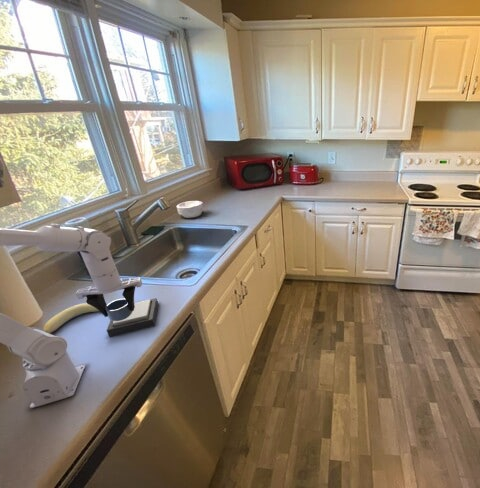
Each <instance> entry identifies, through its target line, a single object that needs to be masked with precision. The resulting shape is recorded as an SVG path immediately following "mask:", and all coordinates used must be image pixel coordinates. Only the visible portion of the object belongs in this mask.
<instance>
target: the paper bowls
mask: <svg viewBox="0 0 480 488" xmlns="http://www.w3.org/2000/svg"><path fill="white" fill-rule="evenodd" d="M204 206H205V205H204V202H203V201H201V200H188V201H183V202H181V203H180V202H179V203H178V204H177V205H176V210H177V213H178V214H179V215H181V216H182V217H183V218H186V219H193V218H198V217H200V216H201V215H202V212H204V210H205V207H204Z"/></svg>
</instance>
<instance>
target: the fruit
mask: <svg viewBox="0 0 480 488" xmlns="http://www.w3.org/2000/svg"><path fill="white" fill-rule="evenodd" d="M95 312H100V311H99V310H98V309H96V308H95V307H93V306H91V305H89V304H87V302H83V303H78V304H76V305H72V306H70V307H68V308H66V309H63V310H62V311H60V312H58V313H57V314H55V315H53V316H52V317H51V318H49V320H47V321H46V323H45V324H44V325H43V328H42V330H43V331H44V332H47V333H49V334H52V333H53V332H55V331H56V330H58V329H59V328H60V327H61V326H62V325H64V324H65V323H67V322H69V321H70V320H72V319H73V318H75V317H78V316H80V315H84V314H87V313H95Z"/></svg>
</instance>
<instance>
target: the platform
mask: <svg viewBox="0 0 480 488" xmlns="http://www.w3.org/2000/svg"><path fill="white" fill-rule="evenodd" d="M134 305H135V308H134V311H132V314H131V315H130V316H129V317H127V318H126V319H124V320H121V321H113V326H118V325H122V324H126V323H130V322H134V321H138V320H143V319H147V318H148V316H149V312H150V307H151V300H150V299H145V300H141V301H136V302H134Z"/></svg>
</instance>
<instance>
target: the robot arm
mask: <svg viewBox="0 0 480 488" xmlns="http://www.w3.org/2000/svg"><path fill="white" fill-rule="evenodd" d="M111 245H112V239H111V237H110V236H108V234H107V233H105V232H104V231H102V230H97V229H92V228H87V227H84V226H79V225H77V226H76V227H68V226H66V227H65V226H62V225H61V224H59V223H50V224H49V225H42V226H40V227H38V228H37V229H35V230H27V229H18V228H17V229H16V228H5V227H0V246H3V247H5V246H6V247H7V246H16V247H17V246H34V247H36V248H37V249H38V250H39V251H41V252H54V253H55V252H57V253H58V252H63V253H65V252H66V253H77V252H79V253H80V256H81V258H82V260H83V262H84V265H85V267H86V269H87V271H88V273H89V277H90V278H91V280H92V283H93V285H89V286H87V287H83V288H79V289H77V291H76V292H75V295H76V297H77V299H78V300H82V299H84V298H86V302H85V303H87V304H89V305H91V306H93V307H95V308H96V309H98V310H99V311H98V312H100V314H102V315H103V316H104V317H105V318H106V317H108V318H109V316H108V314H107V312H106V309H105V307H106V306H107V305H108V304H107V302H106V300H105V296H104V295H107V294H111V293H114V292H116V291H120V290H123V292H122V297H123V299H126V301H127V303H128V306H129V309H130V311H134V308H135V305H134V303H135V292H136V288H142V285H143V282H142V281H143V280H142V278H141V277H135V278H121V275H120V273H119V270H118V268H117V265H116V263H115V261H114V258H113V255H112V252H111V249H110V247H111ZM0 344H2V345H4V346H6V347H7V349H8V350H9V352H10V353H11V354H12V355H14V356H18V357H20V358H22V367H23V368H24V371H25V380H24V382H23V384H22V389H23V392H24V393H25V395H26V396H27V397H28V398H29V400H30V401H31V403H30V405H29V408H30V409H34V408H37V407H41V406H44V405H47V404H50V403H54V402H57V401H60V400H64V399H67V398H70V397H72V396H74V395H75V393H76V391H77V388H78V386H79V383H80V381H81V378H82V376H83V374H84V370H85V369H86V364H82V365H79V366H76V365H75V362H74V361H73V360H72V357H71V356H70V353H68V350H67V348H68V341H67V340H66V339H65V338H64V337H61V336H60V335H59V336H58V335H54V334H52V333H50V334H49V333H47V332H44V331H43V329H41V328H39V327H30V326H28V325H26V324H24V323H21V322H20V321H18V320H16V319H14V318H12V317H10V316H8V315H7V314H4V313H3V312H0Z"/></svg>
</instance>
